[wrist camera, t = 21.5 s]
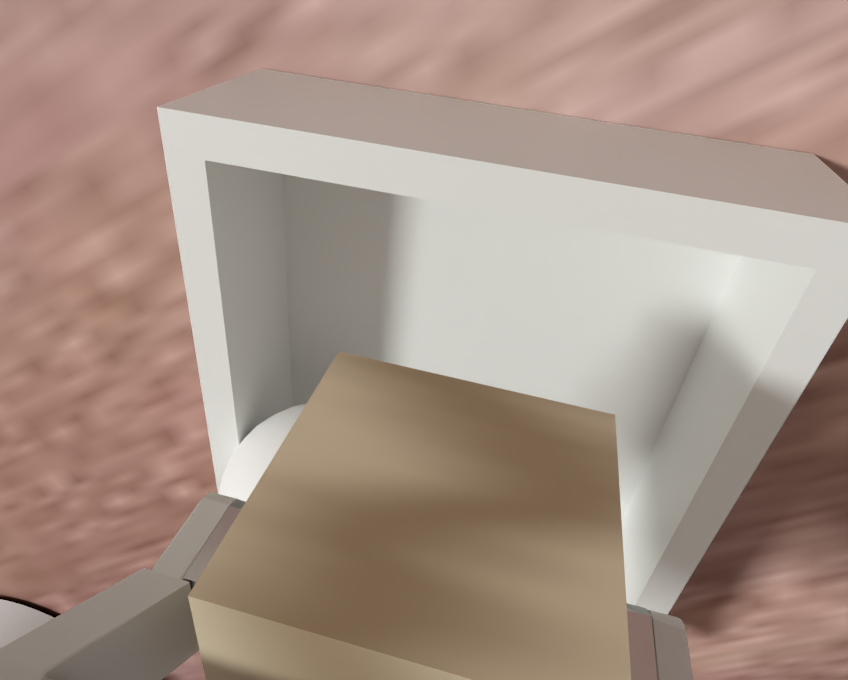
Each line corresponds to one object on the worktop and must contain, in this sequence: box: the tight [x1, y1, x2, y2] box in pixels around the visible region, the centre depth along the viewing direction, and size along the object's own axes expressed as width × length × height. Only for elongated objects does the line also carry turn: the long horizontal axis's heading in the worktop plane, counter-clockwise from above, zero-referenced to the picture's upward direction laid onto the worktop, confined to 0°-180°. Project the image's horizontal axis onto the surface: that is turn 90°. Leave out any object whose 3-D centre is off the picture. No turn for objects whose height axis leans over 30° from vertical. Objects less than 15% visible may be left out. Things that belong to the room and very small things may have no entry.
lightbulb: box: [218, 404, 306, 502], centre depth 19 cm, size 6×6×11 cm
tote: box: [157, 69, 848, 615], centre depth 19 cm, size 19×15×5 cm
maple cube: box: [188, 352, 631, 680], centre depth 10 cm, size 5×5×5 cm
